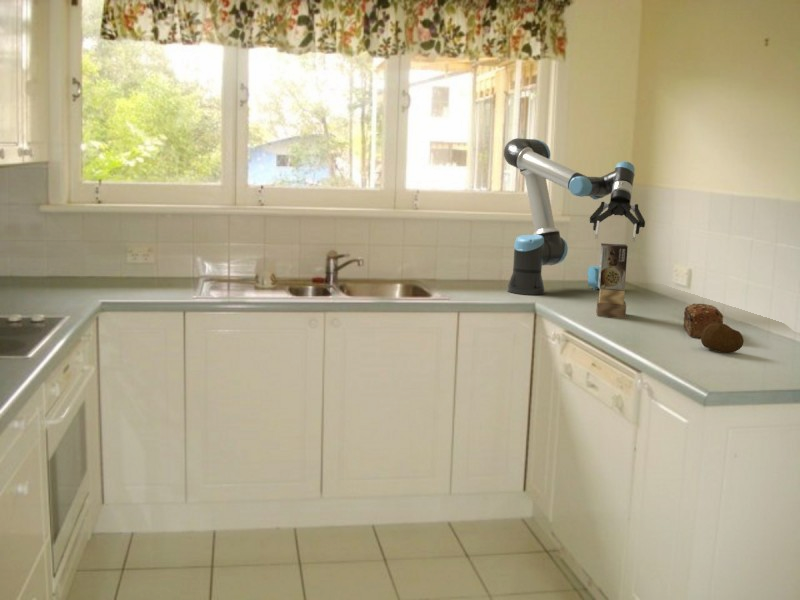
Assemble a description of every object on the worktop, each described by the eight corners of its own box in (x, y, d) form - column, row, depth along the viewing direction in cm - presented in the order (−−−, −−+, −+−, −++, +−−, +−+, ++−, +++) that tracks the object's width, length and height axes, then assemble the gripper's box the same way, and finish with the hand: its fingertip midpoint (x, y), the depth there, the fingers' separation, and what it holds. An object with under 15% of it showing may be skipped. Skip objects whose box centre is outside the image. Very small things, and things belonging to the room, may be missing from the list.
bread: (721, 340, 288) (724, 310, 286) (687, 337, 290) (690, 307, 289) (713, 330, 306) (717, 301, 304) (681, 327, 308) (684, 299, 307)
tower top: (599, 303, 321) (600, 289, 320) (598, 299, 329) (600, 286, 328) (623, 304, 319) (624, 291, 318) (622, 301, 327) (623, 287, 327)
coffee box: (622, 288, 326) (626, 244, 323) (624, 290, 320) (628, 245, 317) (597, 286, 327) (600, 242, 324) (598, 288, 321) (602, 244, 318)
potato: (731, 357, 264) (735, 328, 262) (693, 349, 272) (696, 321, 270) (743, 353, 270) (746, 325, 268) (706, 346, 278) (709, 318, 276)
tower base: (596, 316, 321) (597, 303, 320) (596, 312, 331) (597, 299, 330) (625, 319, 319) (626, 305, 318) (623, 314, 329) (624, 301, 328)
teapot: (629, 290, 387) (631, 265, 385) (607, 294, 374) (610, 267, 372) (597, 285, 398) (599, 260, 396) (575, 288, 385) (577, 262, 383)
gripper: (588, 186, 341) (580, 228, 330) (655, 191, 334) (650, 234, 323) (588, 199, 347) (580, 241, 336) (654, 204, 340) (649, 247, 329)
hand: (614, 238), depth 329 cm, fingers open, 13 cm apart
